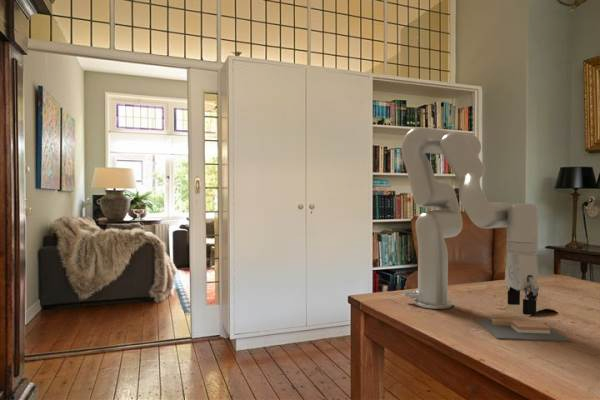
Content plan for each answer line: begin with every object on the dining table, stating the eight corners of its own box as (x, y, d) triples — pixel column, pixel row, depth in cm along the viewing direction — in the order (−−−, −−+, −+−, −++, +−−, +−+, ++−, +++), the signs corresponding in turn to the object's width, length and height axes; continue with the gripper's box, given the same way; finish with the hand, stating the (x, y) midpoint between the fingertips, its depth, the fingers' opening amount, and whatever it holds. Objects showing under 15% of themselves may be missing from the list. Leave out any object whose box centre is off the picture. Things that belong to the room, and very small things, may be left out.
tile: (510, 326, 114) (518, 332, 109) (510, 320, 114) (518, 326, 109) (540, 327, 113) (550, 333, 108) (540, 321, 113) (550, 327, 108)
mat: (497, 339, 105) (497, 332, 105) (476, 319, 121) (476, 314, 121) (570, 341, 103) (570, 335, 103) (539, 321, 119) (539, 316, 119)
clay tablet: (533, 306, 138) (534, 298, 138) (562, 314, 129) (562, 306, 129) (501, 310, 133) (501, 302, 133) (527, 319, 124) (527, 310, 124)
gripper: (495, 243, 122) (495, 300, 123) (521, 252, 105) (521, 318, 105) (522, 244, 122) (521, 301, 122) (552, 252, 104) (551, 319, 105)
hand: (521, 309), depth 114 cm, fingers open, 9 cm apart
